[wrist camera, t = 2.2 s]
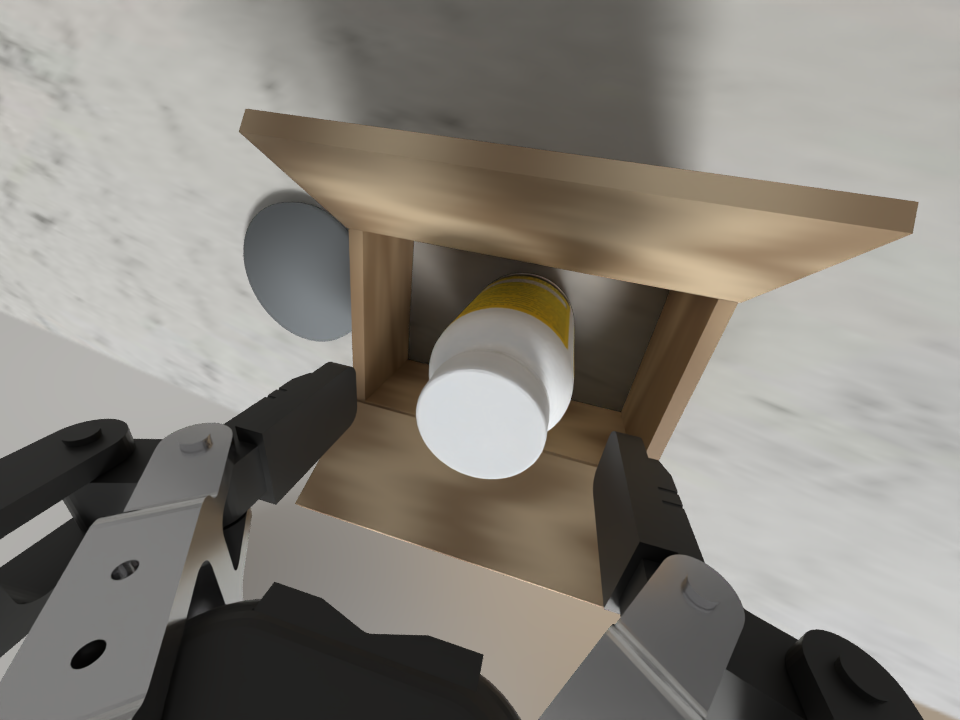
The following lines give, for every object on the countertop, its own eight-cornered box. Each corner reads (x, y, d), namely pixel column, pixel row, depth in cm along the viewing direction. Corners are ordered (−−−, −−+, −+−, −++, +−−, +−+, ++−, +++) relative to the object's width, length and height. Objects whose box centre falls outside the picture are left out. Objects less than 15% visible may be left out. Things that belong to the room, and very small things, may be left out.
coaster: (370, 215, 18) (364, 215, 18) (371, 350, 22) (366, 354, 21) (241, 191, 19) (232, 191, 19) (262, 323, 23) (255, 326, 22)
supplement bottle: (462, 284, 18) (366, 357, 10) (564, 259, 17) (555, 323, 8) (488, 372, 20) (426, 499, 12) (581, 359, 19) (590, 496, 10)
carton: (722, 200, 14) (934, 201, 6) (614, 456, 21) (643, 629, 12) (406, 153, 16) (234, 105, 8) (397, 397, 23) (296, 512, 14)
